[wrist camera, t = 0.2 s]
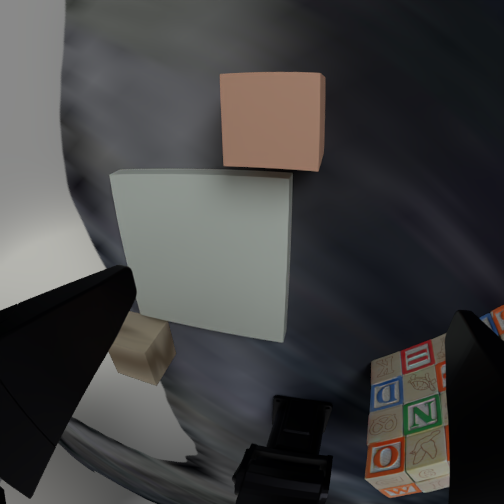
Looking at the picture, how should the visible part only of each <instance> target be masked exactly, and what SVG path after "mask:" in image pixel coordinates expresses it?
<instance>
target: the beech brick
mask: <svg viewBox="0 0 504 504" xmlns="http://www.w3.org/2000/svg"><path fill="white" fill-rule="evenodd" d="M109 354H110V356H111V358H112V360H113V363H114V365H115V367H116V369H117V371H118V373H121V374H123V375H127V376H129V377H132V378H135V379H138V380H141V381H143V382H147V383H150V384H153V385H156V386H157V384H158V383H159V381H160V380H161V378H162V376H163V375H164V373H165V371H166V370H167V368H168V366H169V365H170V363H171V361H172V360H173V358H174V357H175V355H176V351H175V347H174V343H173V339H172V335H171V331H170V327H169V323H168V321H166V320H161V319H157V318H153V317H148V316H144V315H141V314H139V313H134V312H130V311H129V313H128V315H127V317H126V319H125V321H124V323H123V325H122V327H121V329H120V332H119V333H118V335H117V337H116V339H115V341H114V343H113V344H112V346H111V348H110V349H109Z"/></svg>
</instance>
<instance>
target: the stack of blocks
mask: <svg viewBox="0 0 504 504" xmlns="http://www.w3.org/2000/svg"><path fill="white" fill-rule="evenodd" d="M479 319H481V320H482V321H483V322H484V323H485V324H486V325H487V326H488V327H489V328H490V329H491V330H493V331H494V332H495V333H496V334H497V335H498V336H499V337H500V338H501V339H502V340H503V341H504V305H503V306H501V307H499V308H497V309H495V310H493V311H491V312H490V313H488V314H486V315H484V316H482V317H480V318H479ZM445 336H446V334H443V335H441V336H439V337H436V338H434V339H432V340H428V341H425V342H423V343H420V344H418V345H415V346H413V347H410V348H408V349H405V350H402V351H400V352H396V353H394V354H391V355H388V356H385V357H382V358H379V359H377V360H374V361H372V362H371V398H370V414H369V421H368V433H367V446H368V453H367V463H366V472H365V480H367V481H368V482H369V483H370V484H372V485H373V486H374V487H375V488H376V489H379V491H380V492H382V493H383V494H384V495H386V496H387V497H389V498H392V497H397V496H403V495H408V494H413V493H418V492H422V491H423V492H424V493H425V492H430V491H434V490H438V489H442V488H445V487H449V477H450V453H449V426H448V411H447V399H446V362H445Z"/></svg>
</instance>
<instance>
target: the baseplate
mask: <svg viewBox="0 0 504 504" xmlns="http://www.w3.org/2000/svg"><path fill="white" fill-rule="evenodd" d="M110 181H111V187H112V193H113V199H114V204H115V209H116V215H117V220H118V225H119V229H120V234H121V239H122V243H123V248H124V252H125V256H126V261H127V265H128V267H130V268H131V270H132V272H133V276H134V280H135V284H136V288H137V295H136V299H137V303H138V307H139V310H140V314H141V315H144V316H148V317H153V318H157V319H161V320H166V321H170V322H175V323H179V324H184V325H188V326H193V327H198V328H203V329H208V330H213V331H218V332H223V333H229V334H234V335H240V336H245V337H251V338H257V339H263V340H269V341H275V342H282V343H283V341H284V337H285V334H286V327H287V310H288V292H289V272H290V249H291V221H292V185H293V173H288V172H272V171H253V170H229V169H120V170H118V171H116V172H114V173H112V174H110Z"/></svg>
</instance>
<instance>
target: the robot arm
mask: <svg viewBox="0 0 504 504" xmlns="http://www.w3.org/2000/svg"><path fill="white" fill-rule="evenodd" d="M136 295H137V288H136V284H135V280H134V276H133V272H132V270H131V268H130V267H128V266H123V265H116V266H113V267H111V268H108V269H105V270H103V271H100V272H97V273H95V274H92V275H89V276H87V277H84V278H81V279H79V280H76V281H74V282H71V283H68V284H66V285H63V286H61V287H58V288H56V289H53V290H51V291H48V292H45V293H43V294H40V295H38V296H36V297H33V298H30V299H28V300H25V301H23V302H20V303H19V304H15V305H13V306H10V307H8V308H6V309H3V310H0V482H1V480H4V481H5V482H6V483H8V484H9V485H10V486H12V487H13V488H15V489H16V490H18V491H19V492H20V493H22V494H23V495H25V496H26V497H28V498H29V499H30V498H31V497H32V496H33V494H34V492H35V489H36V487H37V485H38V483H39V481H40V479H41V477H42V474H43V472H44V470H45V468H46V466H47V464H48V462H49V460H50V458H51V456H52V454H53V452H54V450H55V448H56V447H55V446H56V445H57V444H58V442H59V440H60V438H61V436H62V434H63V432H64V430H65V428H66V426H67V424H68V422H69V420H70V419H71V417H72V415H73V413H74V411H75V409H76V407H77V406H78V404H79V402H80V400H81V398H82V396H83V395H84V393H85V391H86V389H87V387H88V386H89V384H90V382H91V380H92V379H93V377H94V375H95V373H96V372H97V370H98V368H99V366H100V365H101V363H102V361H103V360H104V358H105V356H106V354H107V353H108V351H109V349H110V348H111V346H112V344H113V343H114V341H115V339H116V337H117V335H118V333H119V332H120V329H121V327H122V325H123V323H124V321H125V319H126V317H127V315H128V313H129V311H130V309H131V307H132V305H133V303H134V301H135V299H136ZM445 362H446V399H447V411H448V426H449V453H450V477H449V503H448V504H504V341H503V340H502V339H501V338H500V337H499V336H498V335H497V334H496V333H495V332H494V331H493V330H491V329H490V328H489V327H488V326H487V325H486V324H485V323H484V322H483V321H482V320H481V319H479V318H478V317H477V316H476V315H475V314H474V313H473V312H472V311H468V310H458V311H456V313H455V314H454V317H453V319H452V321H451V324H450V326H449V328H448V331H447V333H446V336H445ZM331 411H332V404H331V403H327V402H319V401H311V400H304V399H298V398H291V397H285V396H279V395H277V396H275V397H274V400H273V419H272V425H273V426H272V430H271V433H270V437H269V440H268V443H267V447H264V446H259V445H257V444H253V443H252V444H251V446H250V448H249V449H246V451H245V454H244V457H243V460H242V462H241V464H240V465H239V467H238V468H237V470H236V472H235V473H234V475H233V477H232V481H233V482H234V484H235V495H238V497H237V500H236V504H325V502H326V499H327V495H328V490H329V485H330V477H331V468H332V459H333V456H332V455H328V456H324V455H319V451H320V446H321V440H322V434H323V433H324V432H325V429H326V426H327V423H328V420H329V417H330V414H331ZM0 504H6V501H5V494H4V489H3V488H2V487H0Z"/></svg>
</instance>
